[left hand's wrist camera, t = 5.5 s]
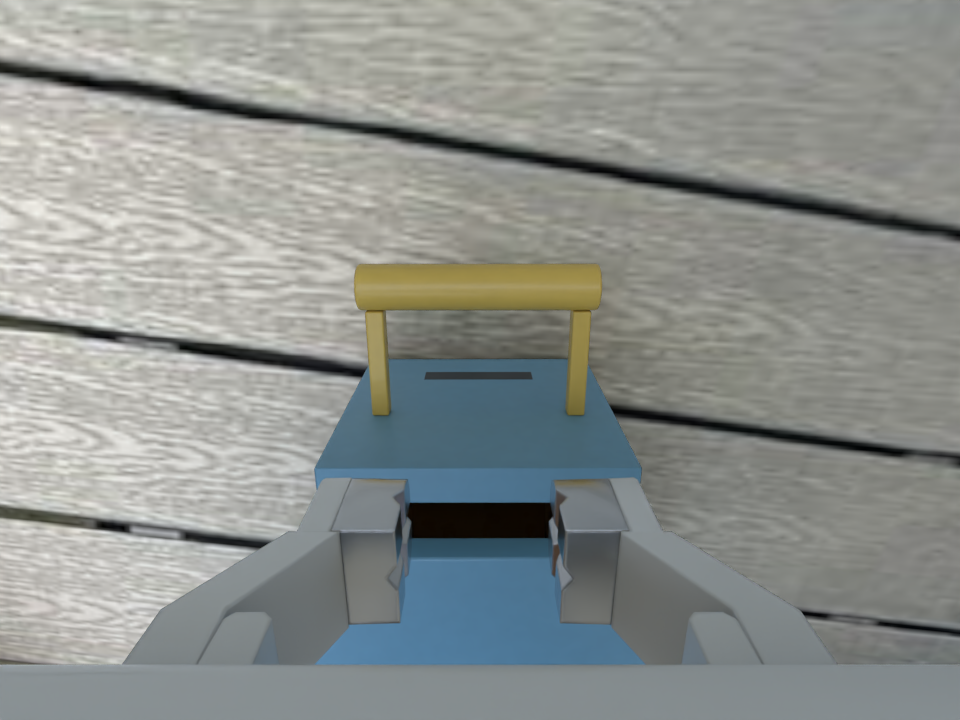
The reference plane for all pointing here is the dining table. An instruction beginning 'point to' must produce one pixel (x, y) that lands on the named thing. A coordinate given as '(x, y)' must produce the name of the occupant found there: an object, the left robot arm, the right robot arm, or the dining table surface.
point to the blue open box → (480, 613)
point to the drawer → (478, 404)
